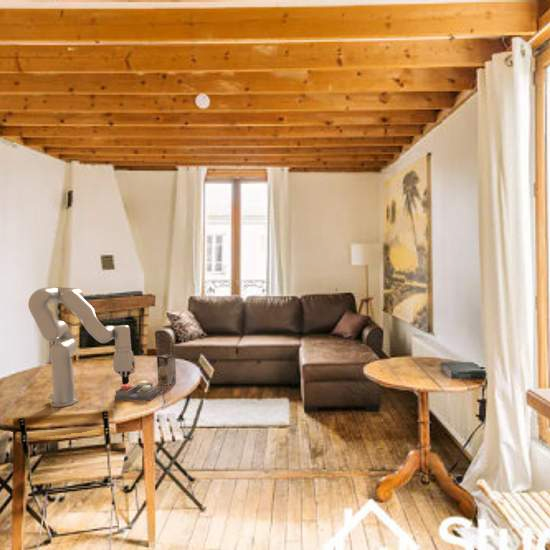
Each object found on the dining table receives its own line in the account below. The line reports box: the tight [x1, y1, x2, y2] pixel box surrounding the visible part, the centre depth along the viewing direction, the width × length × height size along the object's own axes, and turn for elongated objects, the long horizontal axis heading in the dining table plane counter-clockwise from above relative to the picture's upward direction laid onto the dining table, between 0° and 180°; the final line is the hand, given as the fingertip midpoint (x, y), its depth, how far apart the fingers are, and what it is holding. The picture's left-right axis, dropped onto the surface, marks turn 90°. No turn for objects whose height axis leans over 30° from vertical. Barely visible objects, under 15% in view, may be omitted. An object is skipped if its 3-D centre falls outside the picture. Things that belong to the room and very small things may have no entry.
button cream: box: [137, 380, 149, 386], centre depth 213 cm, size 5×5×2 cm
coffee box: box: [156, 353, 177, 386], centre depth 228 cm, size 9×6×16 cm
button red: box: [120, 383, 131, 391], centre depth 207 cm, size 5×5×2 cm
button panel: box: [114, 382, 165, 402], centre depth 210 cm, size 20×15×4 cm
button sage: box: [141, 385, 151, 391], centre depth 205 cm, size 5×5×2 cm
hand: (125, 383), depth 207 cm, fingers closed
